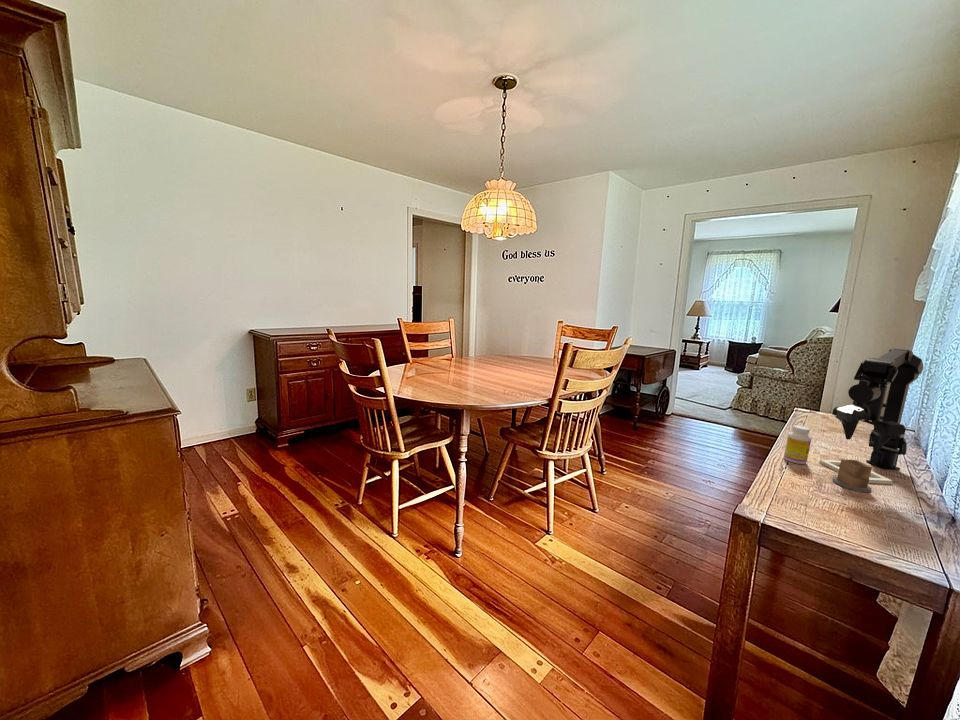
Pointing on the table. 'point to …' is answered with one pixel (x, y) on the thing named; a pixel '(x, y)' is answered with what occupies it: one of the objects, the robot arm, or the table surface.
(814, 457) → the table surface
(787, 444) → the supplement bottle
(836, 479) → the coaster
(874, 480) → the pocket frame
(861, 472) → the block
